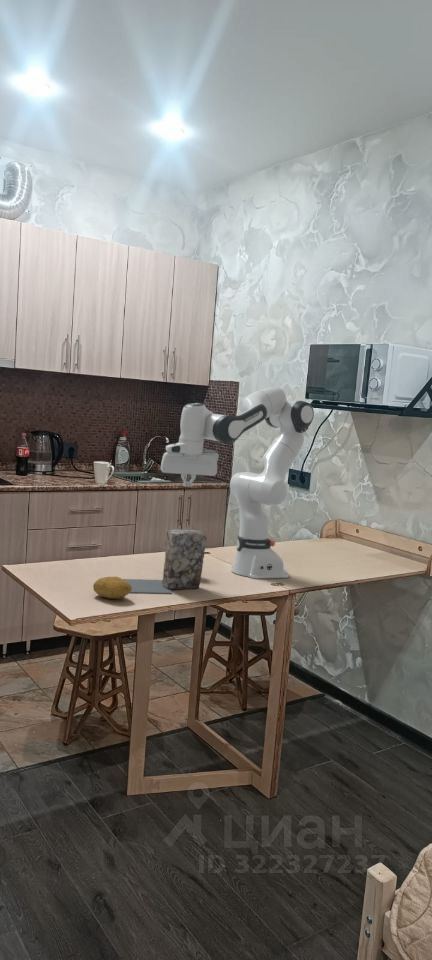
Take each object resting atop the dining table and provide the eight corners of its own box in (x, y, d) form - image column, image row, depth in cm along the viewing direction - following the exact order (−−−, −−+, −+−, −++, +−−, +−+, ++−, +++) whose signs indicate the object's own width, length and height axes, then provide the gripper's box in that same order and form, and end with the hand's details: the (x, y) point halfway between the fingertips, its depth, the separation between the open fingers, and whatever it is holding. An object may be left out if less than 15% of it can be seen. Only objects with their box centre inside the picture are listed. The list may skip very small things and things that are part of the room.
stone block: (169, 590, 241) (176, 533, 239) (159, 585, 247) (166, 528, 245) (201, 589, 249) (209, 533, 246) (191, 583, 254) (198, 528, 252)
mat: (164, 581, 254) (164, 580, 254) (171, 594, 239) (172, 592, 239) (111, 579, 250) (111, 578, 250) (115, 592, 234) (115, 591, 234)
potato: (109, 591, 236) (111, 571, 235) (136, 600, 228) (138, 579, 227) (88, 595, 229) (89, 574, 228) (115, 605, 221) (116, 584, 220)
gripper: (217, 449, 259) (213, 487, 261) (161, 445, 254) (158, 483, 256) (220, 451, 253) (217, 489, 254) (164, 447, 248) (161, 486, 250)
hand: (187, 486), depth 255 cm, fingers closed
